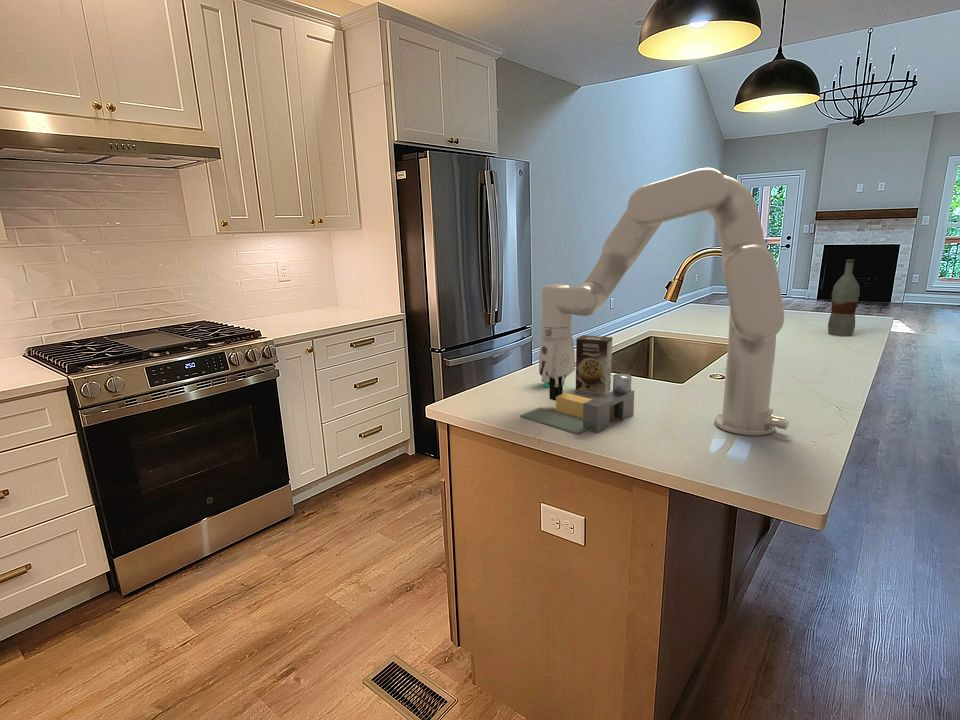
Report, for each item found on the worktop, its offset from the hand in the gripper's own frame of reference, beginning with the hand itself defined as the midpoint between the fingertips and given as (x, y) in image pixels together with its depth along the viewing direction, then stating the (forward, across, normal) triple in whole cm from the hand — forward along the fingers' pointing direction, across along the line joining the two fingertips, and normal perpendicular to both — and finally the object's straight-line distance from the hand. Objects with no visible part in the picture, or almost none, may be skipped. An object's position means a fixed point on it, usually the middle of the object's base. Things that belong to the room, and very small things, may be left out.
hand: (555, 399), depth 138 cm
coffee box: (+2, +18, +1) cm, 18 cm away
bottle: (+2, +144, -32) cm, 148 cm away
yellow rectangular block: (+2, 0, -9) cm, 9 cm away
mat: (+2, -7, -6) cm, 10 cm away
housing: (+2, 0, -16) cm, 17 cm away
